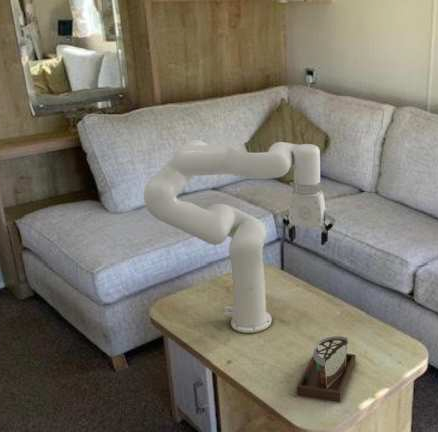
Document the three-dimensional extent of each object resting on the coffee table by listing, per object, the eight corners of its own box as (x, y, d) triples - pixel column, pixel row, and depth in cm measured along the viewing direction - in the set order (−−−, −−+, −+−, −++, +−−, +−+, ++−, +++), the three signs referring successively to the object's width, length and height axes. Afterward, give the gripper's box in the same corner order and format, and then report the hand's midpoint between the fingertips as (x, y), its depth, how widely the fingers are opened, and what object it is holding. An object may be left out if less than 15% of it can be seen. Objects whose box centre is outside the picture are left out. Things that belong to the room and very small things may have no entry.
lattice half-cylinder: (329, 360, 176) (329, 330, 173) (348, 367, 173) (348, 337, 170) (304, 384, 166) (303, 352, 163) (323, 391, 164) (323, 359, 160)
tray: (297, 395, 163) (296, 386, 162) (316, 357, 179) (316, 349, 178) (340, 402, 161) (340, 393, 160) (355, 362, 177) (355, 354, 176)
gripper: (274, 189, 178) (276, 243, 184) (332, 194, 174) (332, 250, 181) (283, 180, 184) (285, 233, 191) (339, 186, 181) (339, 239, 187)
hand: (308, 241), depth 186 cm, fingers open, 9 cm apart
